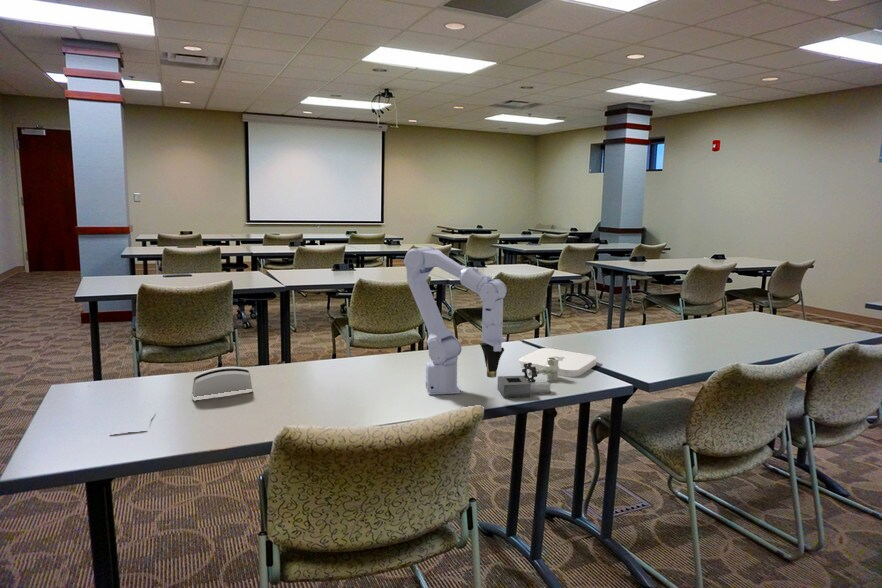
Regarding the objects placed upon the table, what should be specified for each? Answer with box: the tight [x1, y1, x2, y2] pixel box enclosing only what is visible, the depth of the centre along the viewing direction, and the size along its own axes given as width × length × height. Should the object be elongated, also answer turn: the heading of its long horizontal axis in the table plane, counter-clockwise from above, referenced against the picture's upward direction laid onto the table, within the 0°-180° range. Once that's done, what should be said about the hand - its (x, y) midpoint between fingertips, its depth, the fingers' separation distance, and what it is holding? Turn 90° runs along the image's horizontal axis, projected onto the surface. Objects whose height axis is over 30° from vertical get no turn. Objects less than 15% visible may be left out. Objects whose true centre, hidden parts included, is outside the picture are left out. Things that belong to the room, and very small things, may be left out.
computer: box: [518, 347, 598, 378], centre depth 195 cm, size 22×22×3 cm
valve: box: [521, 357, 559, 383], centre depth 177 cm, size 7×7×12 cm
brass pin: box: [486, 362, 498, 379], centre depth 158 cm, size 3×3×6 cm
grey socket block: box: [496, 375, 552, 399], centre depth 166 cm, size 15×8×4 cm, turn 97°
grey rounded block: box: [191, 366, 253, 397], centre depth 162 cm, size 17×5×10 cm, turn 118°
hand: (491, 369), depth 158 cm, fingers closed on brass pin, 3 cm apart
